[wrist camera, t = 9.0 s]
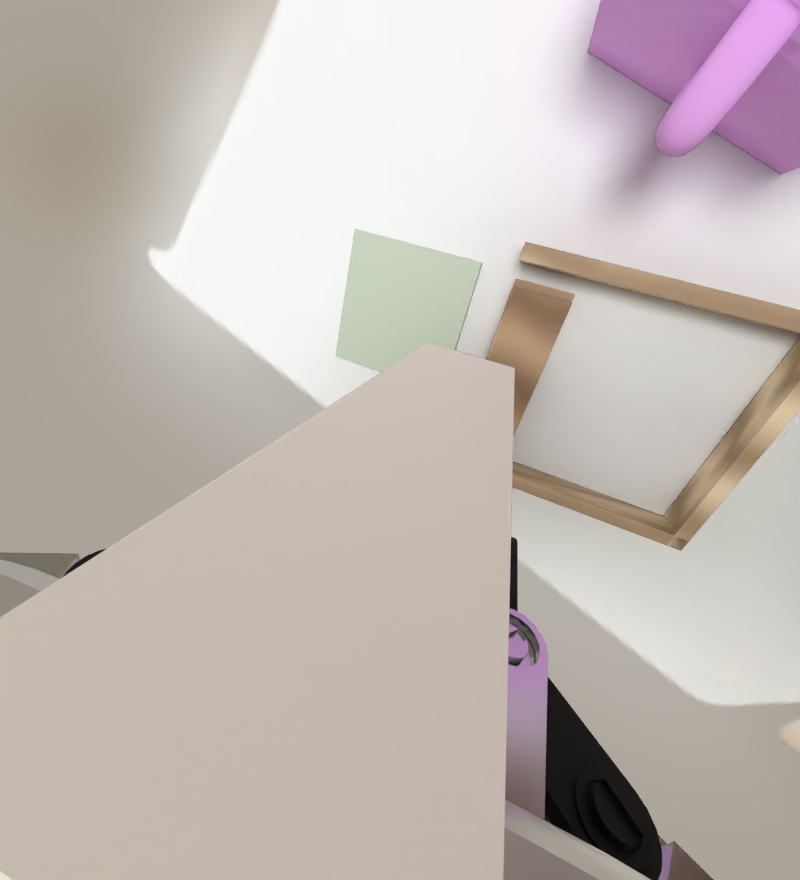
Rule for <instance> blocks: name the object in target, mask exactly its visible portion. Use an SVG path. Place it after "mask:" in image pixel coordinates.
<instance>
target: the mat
mask: <svg viewBox="0 0 800 880" xmlns="http://www.w3.org/2000/svg"><path fill="white" fill-rule="evenodd" d="M481 266H482V262H478V261H474V260H470V259H467V258H463V257H459V256H455V255H452V254H448V253H444V252H440V251H437V250H433V249H429V248H425V247H421V246H418V245H414V244H410V243H406V242H403V241H399V240H395V239H391V238H387V237H384V236H380V235H376V234H372V233H369V232H365V231H361V230H357V229H355V231H354V238H353V244H352V251H351V258H350V264H349V271H348V277H347V284H346V291H345V297H344V304H343V310H342V317H341V324H340V330H339V337H338V344H337V350H336V356H337V357H340V358H343V359H346V360H349V361H352V362H354V363H357V364H360V365H363V366H366V367H369V368H372V369H375V370H378V371H381V372H383V371H385V370H386V369H388V368H389V367H391V366H392V365H394V364H395V363H397V362H399V361H400V360H402V359H403V358H405V357H406V356H408V355H409V354H411V353H413V352H414V351H416V350H417V349H419V348H420V347H422V346H423V345H425V344H427V343H431V344H435V345H438V346H441V347H445V348H448V349H452V350H455V349H456V346H457V343H458V340H459V336H460V333H461V330H462V327H463V324H464V320H465V317H466V314H467V311H468V308H469V304H470V301H471V298H472V295H473V291H474V288H475V285H476V282H477V279H478V275H479V272H480V269H481Z"/></svg>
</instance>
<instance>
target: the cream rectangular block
mask: <svg viewBox="0 0 800 880" xmlns="http://www.w3.org/2000/svg"><path fill="white" fill-rule="evenodd" d="M514 381H515V368H513V367H510V366H506V365H503V364H500V363H496V362H493V361H489V360H486V359H482V358H479V357H476V356H472V355H469V354H465V353H462V352H459V351H455V350H452V349H448V348H445V347H441V346H438V345H435V344H431V343H427V344H425V345H423V346H422V347H420V348H419V349H417V350H416V351H414V352H413V353H411V354H409V355H408V356H406V357H405V358H403V359H402V360H400V361H399V362H397V363H395V364H394V365H392V366H391V367H389V368H388V369H386V370H385V371H383V372H381V373H380V374H378V375H377V376H375V377H374V378H372V379H371V380H369V381H367V382H366V383H364V384H363V385H361V386H360V387H358V388H357V389H355V390H353V391H352V392H350V393H349V394H347V395H346V396H344V397H343V398H341V399H339V400H338V401H336V402H335V403H333V404H332V405H330V406H329V407H327V408H325V409H324V410H322V411H321V412H319V413H318V414H316V415H314V416H313V417H311V418H310V419H308V420H307V421H305V422H304V423H302V424H300V425H299V426H297V427H296V428H294V429H293V430H291V431H290V432H288V433H286V434H285V435H284V436H282V437H280V438H279V439H277V440H276V441H274V442H272V443H271V444H269V445H268V446H266V447H265V448H263V449H262V450H260V451H258V452H257V453H255V454H254V455H252V456H251V457H249V458H248V459H246V460H245V461H243V462H241V463H240V464H238V465H237V466H235V467H234V468H232V469H230V470H229V471H227V472H226V473H224V474H223V475H221V476H220V477H218V478H216V479H215V480H213V481H212V482H210V483H209V484H207V485H206V486H204V487H202V488H201V489H199V490H198V491H196V492H195V493H193V494H192V495H190V496H188V497H187V498H185V499H184V500H182V501H181V502H179V503H177V504H176V505H175V506H173V507H171V508H170V509H168V510H167V511H165V512H164V513H162V514H160V515H159V516H157V517H156V518H154V519H153V520H151V521H149V522H148V523H146V524H145V525H143V526H142V527H140V528H139V529H137V530H135V531H134V532H132V533H131V534H129V535H128V536H126V537H125V538H123V539H121V540H120V541H118V542H117V543H115V544H114V545H112V546H111V547H109V548H107V549H106V550H104V551H103V552H101V553H100V554H98V555H97V556H95V557H93V558H92V559H90V560H89V561H87V562H86V563H84V564H83V565H81V566H79V567H78V568H76V569H75V570H73V571H72V572H70V573H68V574H67V575H65V576H64V577H62V578H61V579H59V580H58V581H56V582H54V583H53V584H51V585H50V586H48V587H47V588H45V589H44V590H42V591H40V592H39V593H37V594H36V595H34V596H33V597H31V598H30V599H28V600H26V601H25V602H23V603H22V604H20V605H19V606H17V607H16V608H14V609H12V610H11V611H9V612H8V613H6V614H5V615H3V616H2V617H0V880H503V869H504V824H505V780H506V736H507V691H508V647H509V602H510V558H511V514H512V469H513V425H514Z"/></svg>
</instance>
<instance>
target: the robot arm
mask: <svg viewBox="0 0 800 880" xmlns="http://www.w3.org/2000/svg"><path fill="white" fill-rule="evenodd" d="M104 550H106V549H104ZM104 550H100V551H97V552H95V553H93V554H90V555H88V556H86V557H84V558H83V559H80V558H79V554H66V553H65V554H64V553H63V554H61V553H0V617H2V616H3V615H5V614H6V613H8V612H9V611H11V610H12V609H14V608H16V607H17V606H19V605H20V604H22V603H23V602H25V601H26V600H28V599H30V598H31V597H33V596H34V595H36V594H37V593H39V592H40V591H42V590H44V589H45V588H47V587H48V586H50V585H51V584H53V583H54V582H56V581H58V580H59V579H61V578H62V577H64V576H65V575H67V574H68V573H70V572H72V571H73V570H75V569H76V568H78V567H79V566H81V565H83V564H84V563H86V562H87V561H89V560H90V559H92V558H93V557H95V556H97V555H98V554H100V553H101V552H103V551H104ZM503 880H713V879H712V878H711V877H710V876H709V875H708V874H707V873H706V872H705V871H704V870H703V869H702V868H701V867H700V866H699V865H698V864H697V863H696V862H695V861H694V860H693V859H692V858H691V857H690V856H689V855H688V854H687V853H686V852H685V851H684V850H683V849H682V848H681V847H680V846H679V845H678V844H677V843H676V842H675V841H673V842H671V843H670V844H667V843H666V842H665V841H664V840H663V839H662V838H661V837H660V836H659V835H658V834H657V830H656V827H655V825H654V823H653V821H652V819H651V816H650V814H649V812H648V810H647V808H646V807H645V805H644V804H643V802H642V800H641V799H640V798H639V796H638V794H637V793H636V791H635V790H634V789H633V787H632V786H631V785H630V784H629V782H628V781H627V779H626V778H625V777H624V775H623V774H622V773H621V772H620V770H619V769H618V768H617V766H616V765H615V764H614V762H613V761H612V760H611V759H610V757H609V756H608V755H607V753H606V752H605V751H604V749H603V748H602V747H601V746H600V744H599V743H598V742H597V740H596V739H595V738H594V736H593V735H592V734H591V732H590V731H589V730H588V729H587V727H586V726H585V725H584V723H583V722H582V721H581V719H580V718H579V717H578V715H577V714H576V713H575V711H574V710H573V709H572V708H571V706H570V705H569V704H568V702H567V701H566V700H565V698H564V697H563V696H562V695H561V693H560V692H559V691H558V689H557V688H556V687H555V685H554V684H553V683H552V681H551V680H550V679H549V678H548V653H547V646H546V644H545V641H544V639H543V637H542V635H541V633H540V632H539V630H538V629H537V628H536V626H535V625H534V624H533V623H532V622H531V621H530V620H529V619H528V618H526V617H525V616H524V615H522V614H521V613H519V612H517V540H516V538H513V537H511V558H510V602H509V647H508V691H507V736H506V780H505V824H504V869H503Z"/></svg>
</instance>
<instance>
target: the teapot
mask: <svg viewBox="0 0 800 880" xmlns="http://www.w3.org/2000/svg"><path fill="white" fill-rule="evenodd" d="M588 52H589V53H590V54H592V55H593V56H595V57H596V58H598V59H600V60H601V61H603V62H604V63H606V64H608V65H609V66H611V67H612V68H614V69H615V70H617V71H619V72H620V73H622V74H623V75H625V76H626V77H628V78H630V79H631V80H633V81H634V82H636V83H638V84H639V85H641V86H642V87H644V88H645V89H647V90H649V91H650V92H652V93H653V94H655V95H656V96H658V97H660V98H661V99H663V100H664V101H666V102H668V103H669V104H671V106H670V107H669V109H668V110H667V112H666V113H665V115H664V117H663V118H662V120H661V122H660V124H659V126H658V128H657V132H656V144H657V147H658V149H659V150H660V151H661V152H662V153H663V154H665V155H667V156H670V157H678V156H682V155H684V154H686V153H688V152H690V151H691V150H693V149H694V148H695V147H696V146H697V145H699V144H700V143H701V142H702V141H703V140H704V139H705V138H706V137H707V136H708V135H709V134H710V132H711V131H713V132H715V133H717V134H718V135H720V136H721V137H723V138H724V139H726V140H728V141H729V142H731V143H732V144H734V145H735V146H737V147H739V148H740V149H742V150H743V151H745V152H747V153H748V154H750V155H751V156H753V157H754V158H756V159H758V160H759V161H761V162H762V163H764V164H765V165H767V166H769V167H770V168H772V169H773V170H775V171H777V172H778V173H780V174H784V173H786V172H788V171H791V170H793V169H795V168H798V167H800V0H601V2H600V6H599V10H598V14H597V17H596V21H595V25H594V29H593V33H592V37H591V41H590V45H589V48H588Z"/></svg>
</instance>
